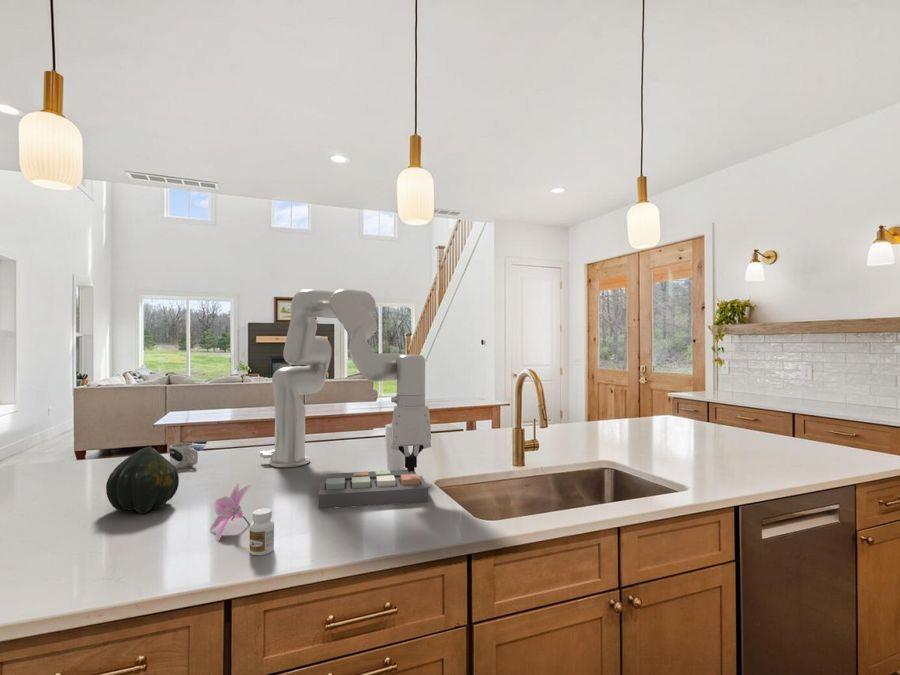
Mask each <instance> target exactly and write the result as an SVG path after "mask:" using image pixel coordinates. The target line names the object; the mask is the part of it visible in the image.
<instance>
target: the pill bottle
mask: <svg viewBox="0 0 900 675" xmlns="http://www.w3.org/2000/svg"><path fill="white" fill-rule="evenodd" d="M272 513H273V512H272V509H271V508H268V507H267V508H266V507H263V508H258V509H255V510H254V511H252V516H251V517H252V519H251V520H252V521H253V522H251V523H250V526H249V553H250V554H251V555H254V556H265V555H268V554H270V553H271V552H273V550H274V549H275V548H274V547H275V523H274V521H273V520H272V516H273V515H272Z"/></svg>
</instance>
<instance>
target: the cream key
mask: <svg viewBox="0 0 900 675" xmlns="http://www.w3.org/2000/svg"><path fill="white" fill-rule="evenodd" d="M376 486H377V487H383V486H396V480H395V477H394V475H387V476H376Z"/></svg>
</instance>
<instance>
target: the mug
mask: <svg viewBox="0 0 900 675" xmlns="http://www.w3.org/2000/svg"><path fill="white" fill-rule="evenodd" d="M194 444H195V443H193V442H180V443H174V444H171V445H169V462H170V463H171V464H172V465H173V466H174V467H175V468H176V470H178V469H185V468H191V467H192V466H195V465H197V464H198V459H199V454H198V450H197V449H195V448H194Z"/></svg>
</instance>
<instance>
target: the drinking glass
mask: <svg viewBox="0 0 900 675" xmlns="http://www.w3.org/2000/svg"><path fill="white" fill-rule="evenodd" d="M384 430H385V431H384V438H385V439H384V441H385V452H386V453H385V454H386V464H387V465H386V467H387V468H386V469H387V470H406V468H405V455H404V454H403V453H402V452H401V451H400V450H394V449H391V447H390V446H391V442H392V437H391V431H392V422H391V423H387V424H385V428H384ZM387 470H386V471H387Z"/></svg>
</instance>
